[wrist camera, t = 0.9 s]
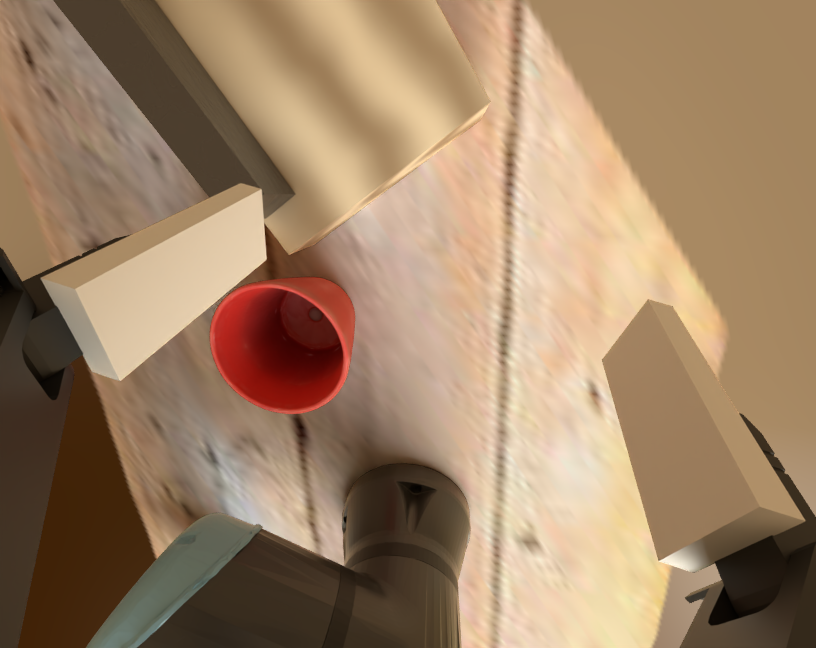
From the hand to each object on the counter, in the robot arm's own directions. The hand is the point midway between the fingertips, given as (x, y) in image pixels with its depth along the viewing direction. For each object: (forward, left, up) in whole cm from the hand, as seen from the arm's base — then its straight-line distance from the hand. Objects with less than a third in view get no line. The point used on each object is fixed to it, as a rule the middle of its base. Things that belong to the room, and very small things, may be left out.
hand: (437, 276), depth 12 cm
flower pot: (-15, 0, -21) cm, 26 cm away
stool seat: (-2, +17, -21) cm, 27 cm away
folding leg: (-9, +17, -15) cm, 24 cm away
